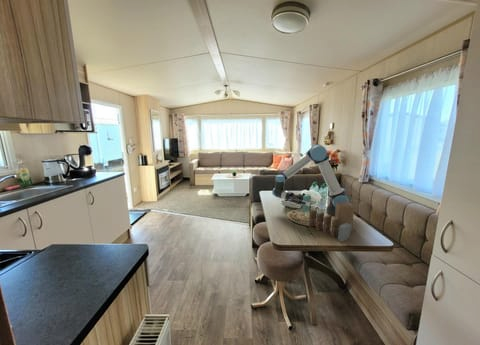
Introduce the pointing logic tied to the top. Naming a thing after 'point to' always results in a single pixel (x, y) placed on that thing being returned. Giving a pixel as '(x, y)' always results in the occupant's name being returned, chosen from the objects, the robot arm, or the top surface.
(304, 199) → the domino
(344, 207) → the block
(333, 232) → the domino
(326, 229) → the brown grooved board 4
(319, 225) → the domino
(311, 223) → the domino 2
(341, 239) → the end stop
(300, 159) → the robot arm
